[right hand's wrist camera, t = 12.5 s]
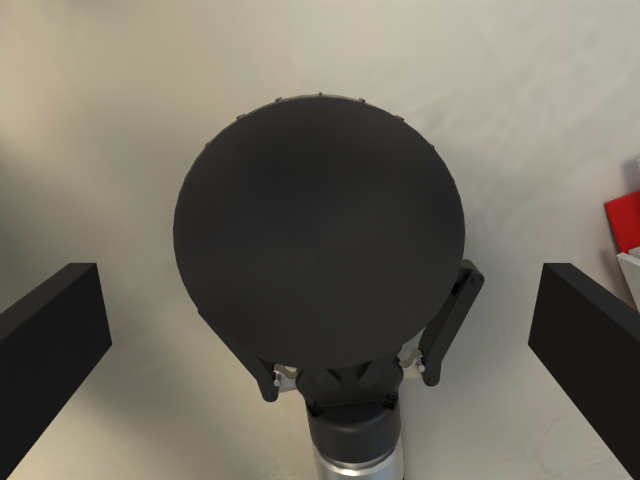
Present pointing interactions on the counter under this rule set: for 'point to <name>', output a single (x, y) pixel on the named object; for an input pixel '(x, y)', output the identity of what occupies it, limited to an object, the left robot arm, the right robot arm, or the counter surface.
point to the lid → (319, 232)
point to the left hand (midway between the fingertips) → (325, 182)
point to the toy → (628, 237)
